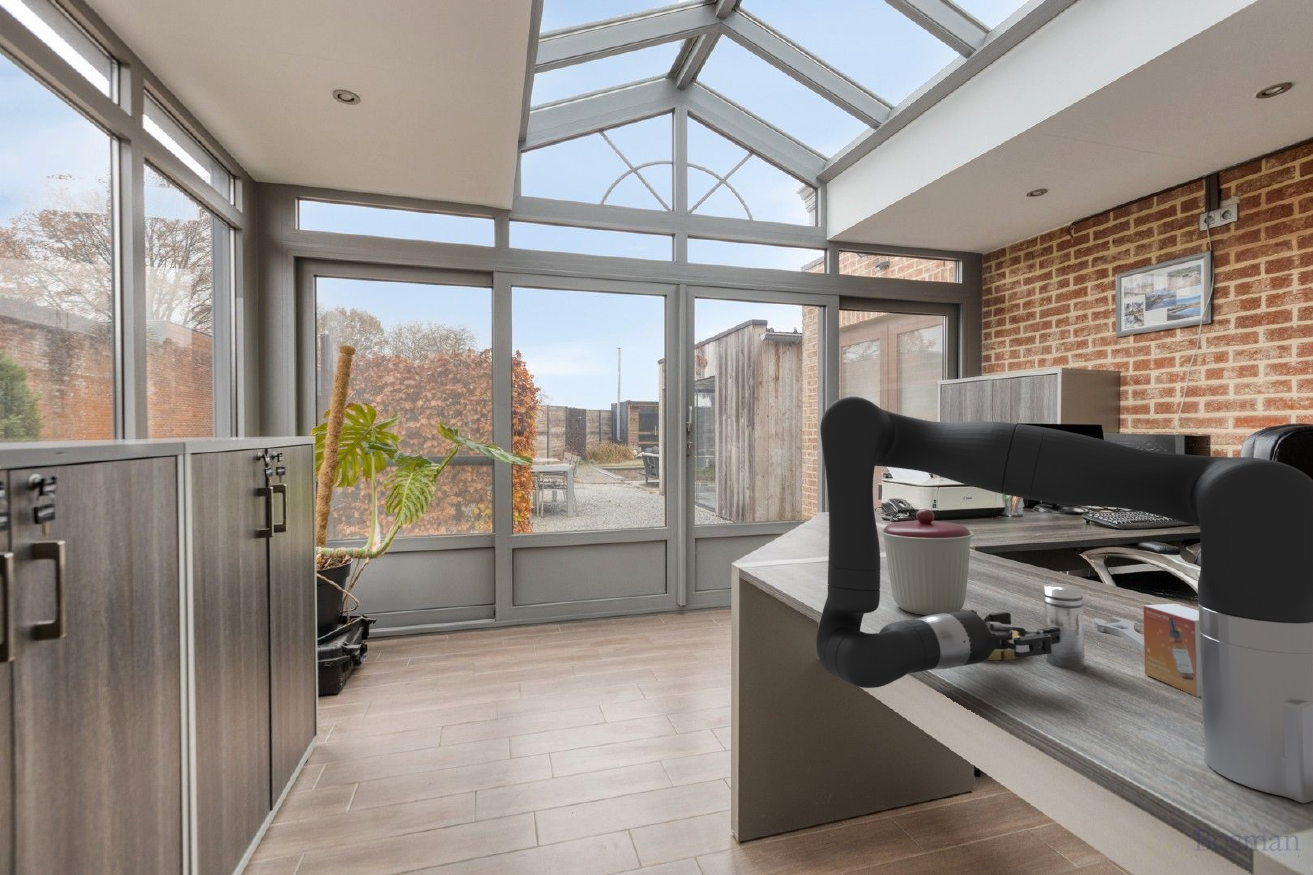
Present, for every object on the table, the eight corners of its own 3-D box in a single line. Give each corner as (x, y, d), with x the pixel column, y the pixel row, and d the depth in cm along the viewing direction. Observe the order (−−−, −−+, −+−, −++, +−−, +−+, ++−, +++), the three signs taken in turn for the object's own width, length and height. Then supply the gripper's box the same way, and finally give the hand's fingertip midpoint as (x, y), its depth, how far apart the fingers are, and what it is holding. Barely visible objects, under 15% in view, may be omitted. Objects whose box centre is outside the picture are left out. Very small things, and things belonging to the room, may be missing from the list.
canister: (874, 597, 136) (871, 505, 136) (959, 598, 133) (955, 504, 133) (893, 622, 118) (889, 515, 118) (991, 623, 115) (987, 514, 116)
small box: (1143, 675, 89) (1141, 604, 89) (1178, 672, 90) (1175, 602, 90) (1197, 697, 81) (1194, 620, 81) (1234, 694, 82) (1231, 617, 82)
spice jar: (1093, 666, 93) (1090, 589, 93) (1068, 671, 91) (1065, 592, 91) (1062, 655, 98) (1059, 582, 98) (1038, 659, 96) (1035, 585, 96)
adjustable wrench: (1198, 678, 88) (1197, 666, 88) (1145, 674, 91) (1145, 663, 91) (1127, 626, 112) (1127, 616, 112) (1087, 624, 114) (1087, 614, 114)
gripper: (987, 628, 81) (1076, 614, 86) (912, 602, 95) (993, 591, 99) (989, 683, 81) (1078, 666, 86) (914, 649, 95) (995, 636, 99)
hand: (1032, 626), depth 93 cm, fingers open, 8 cm apart
